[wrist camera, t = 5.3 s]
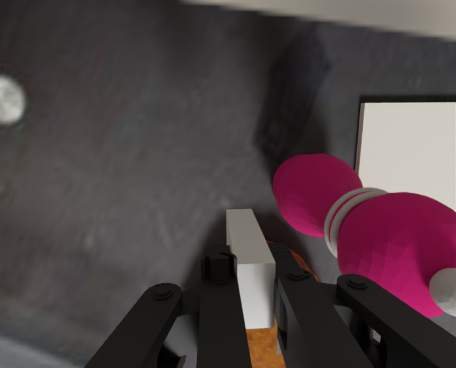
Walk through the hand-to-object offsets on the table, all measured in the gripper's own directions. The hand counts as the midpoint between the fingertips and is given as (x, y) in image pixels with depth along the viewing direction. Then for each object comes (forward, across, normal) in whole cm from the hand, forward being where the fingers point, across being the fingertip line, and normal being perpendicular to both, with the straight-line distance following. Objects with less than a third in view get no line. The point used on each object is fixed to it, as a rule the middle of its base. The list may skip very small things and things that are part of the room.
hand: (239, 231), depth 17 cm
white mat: (+13, +22, 0) cm, 25 cm away
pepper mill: (+13, +8, 0) cm, 15 cm away
